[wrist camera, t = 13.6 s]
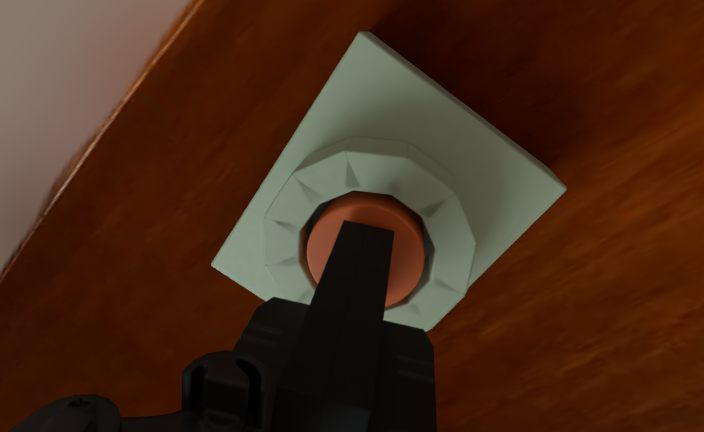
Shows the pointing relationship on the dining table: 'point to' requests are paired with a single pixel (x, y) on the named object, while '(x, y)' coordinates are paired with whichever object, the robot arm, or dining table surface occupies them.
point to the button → (379, 214)
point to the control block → (391, 183)
